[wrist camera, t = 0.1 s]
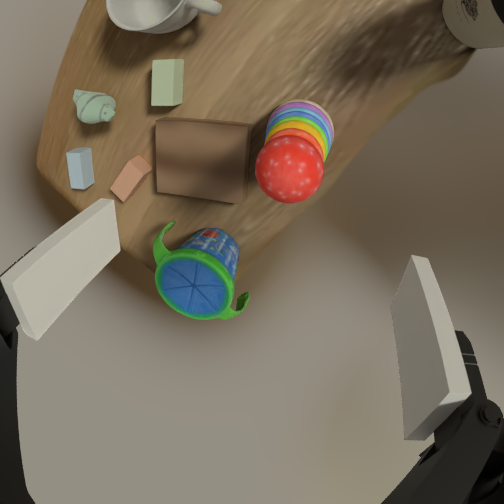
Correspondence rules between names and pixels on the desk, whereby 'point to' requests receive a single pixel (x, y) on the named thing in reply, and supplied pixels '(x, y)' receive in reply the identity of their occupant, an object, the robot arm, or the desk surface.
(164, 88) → the brick sage
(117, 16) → the teacup
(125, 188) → the brick terracotta
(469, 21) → the travel mug
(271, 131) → the stacking toy
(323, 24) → the desk surface
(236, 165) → the plinth
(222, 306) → the snack cup
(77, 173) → the brick blue
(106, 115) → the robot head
